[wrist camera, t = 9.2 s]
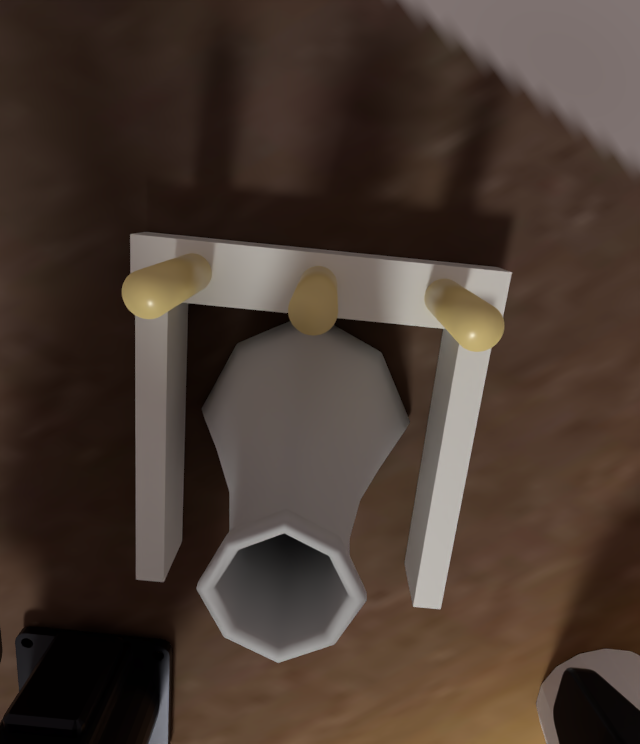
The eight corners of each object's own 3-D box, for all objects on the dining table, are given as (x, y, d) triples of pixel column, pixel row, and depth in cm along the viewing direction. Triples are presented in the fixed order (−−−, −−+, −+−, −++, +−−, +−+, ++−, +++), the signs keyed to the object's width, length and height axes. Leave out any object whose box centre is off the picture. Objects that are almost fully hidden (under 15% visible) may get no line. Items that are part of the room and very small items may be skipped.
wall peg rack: (441, 566, 22) (479, 693, 16) (144, 537, 22) (78, 654, 16) (498, 267, 19) (571, 294, 13) (145, 231, 19) (61, 243, 13)
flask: (313, 273, 19) (292, 344, 9) (443, 421, 20) (540, 613, 11) (168, 403, 20) (23, 578, 11) (299, 531, 22) (272, 785, 12)
